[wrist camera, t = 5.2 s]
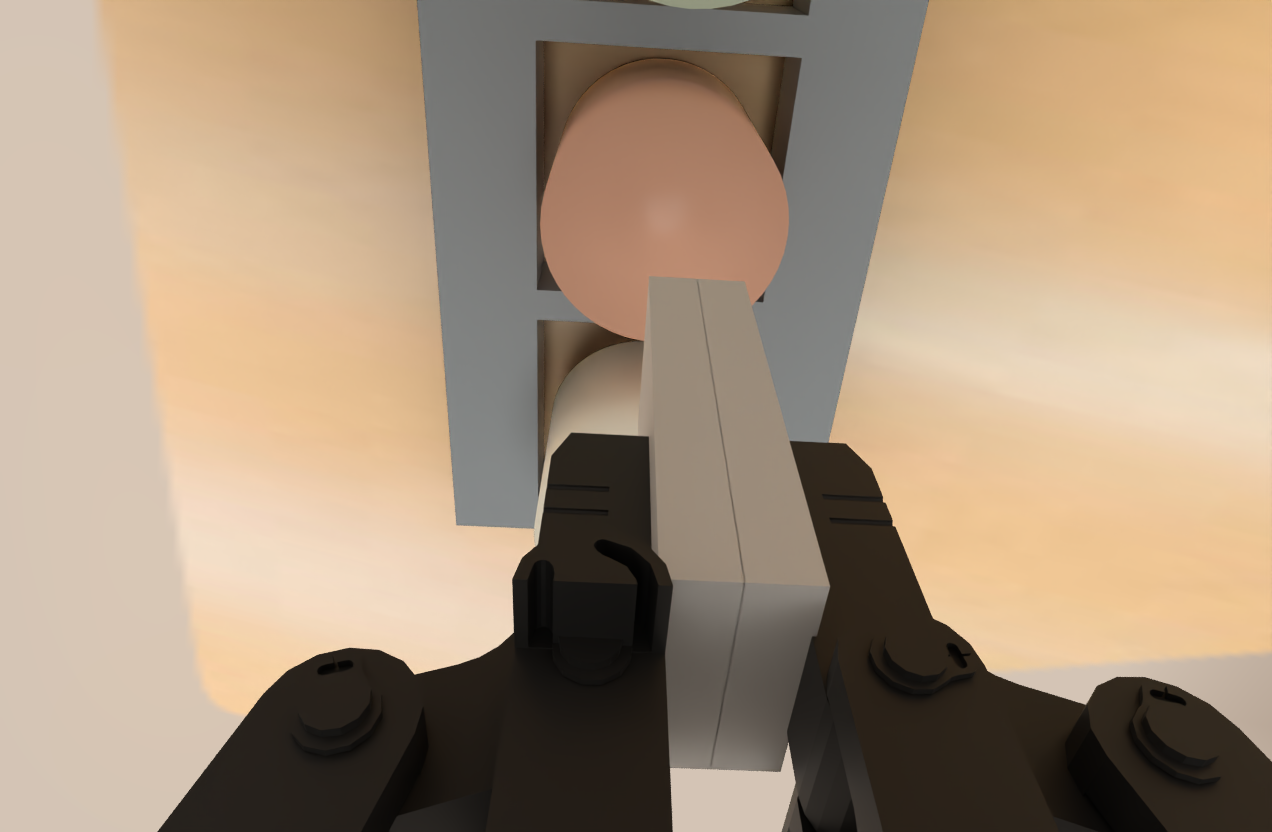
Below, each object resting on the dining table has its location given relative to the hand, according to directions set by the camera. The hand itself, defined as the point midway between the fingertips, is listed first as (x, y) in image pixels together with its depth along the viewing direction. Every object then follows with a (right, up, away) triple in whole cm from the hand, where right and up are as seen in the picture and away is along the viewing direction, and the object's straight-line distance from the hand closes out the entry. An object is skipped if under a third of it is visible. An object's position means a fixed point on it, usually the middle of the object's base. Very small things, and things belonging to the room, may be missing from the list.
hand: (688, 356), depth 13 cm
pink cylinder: (0, +7, +11) cm, 13 cm away
